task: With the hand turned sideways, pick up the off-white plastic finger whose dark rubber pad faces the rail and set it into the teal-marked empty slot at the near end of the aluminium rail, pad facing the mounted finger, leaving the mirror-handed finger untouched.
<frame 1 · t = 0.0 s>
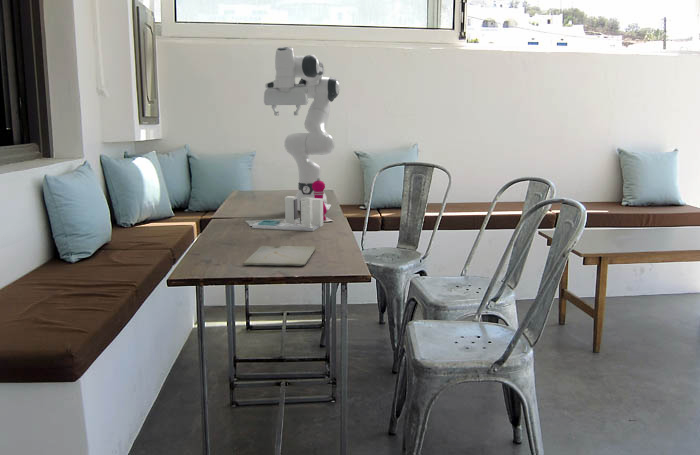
hand: (286, 115, 282), 48 cm above the table, tool pointing down, fingers open, 8 cm apart
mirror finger: (317, 225, 275), on the table
decorative slab: (281, 259, 217), on the table
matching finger: (291, 223, 283), on the table
pepper mill: (319, 220, 290), on the table
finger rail: (285, 227, 271), on the table
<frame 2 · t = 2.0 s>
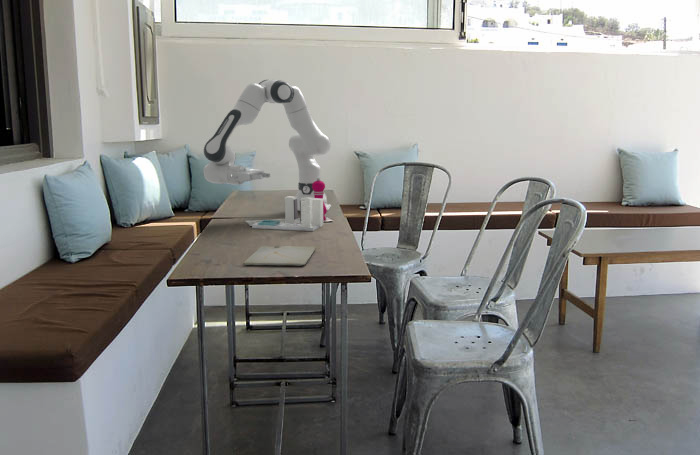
hand: (265, 176, 282), 21 cm above the table, tool horizontal, fingers open, 8 cm apart
nothing on the table moved.
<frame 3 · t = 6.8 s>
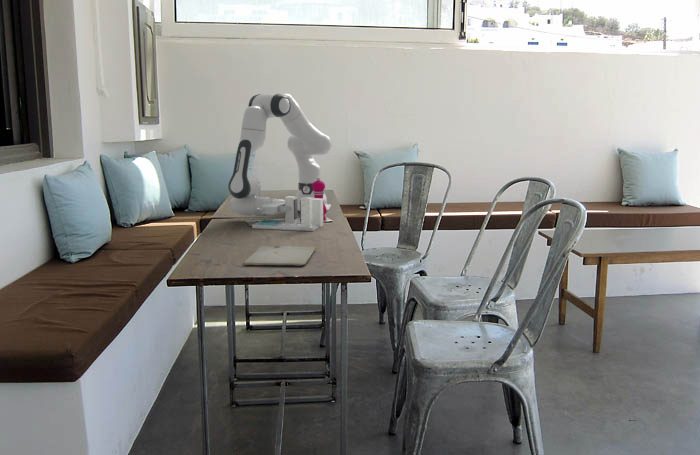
hand: (292, 207, 281), 7 cm above the table, tool horizontal, fingers closed on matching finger, 4 cm apart
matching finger: (291, 223, 283), on the table, touching gripper
everything else where it was.
when the fingers open (9 cm above the table, at t = 12.7 s): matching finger stays where it is, resting on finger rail.
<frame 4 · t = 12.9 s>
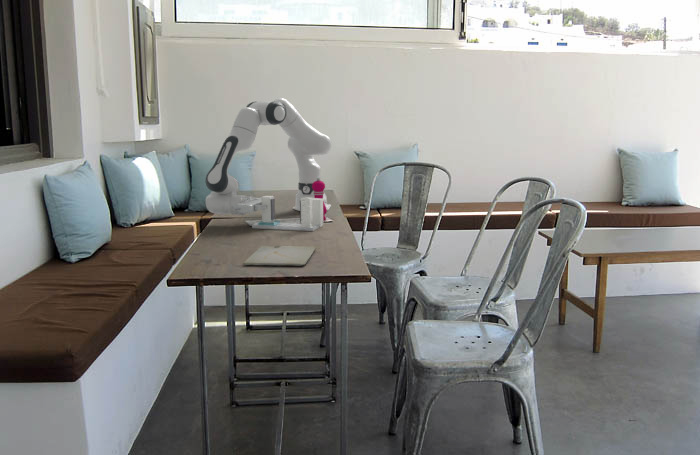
hand: (269, 206, 271), 9 cm above the table, tool horizontal, fingers open, 6 cm apart
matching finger: (268, 223, 273), point 1 cm above the table, touching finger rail
everything else where it was.
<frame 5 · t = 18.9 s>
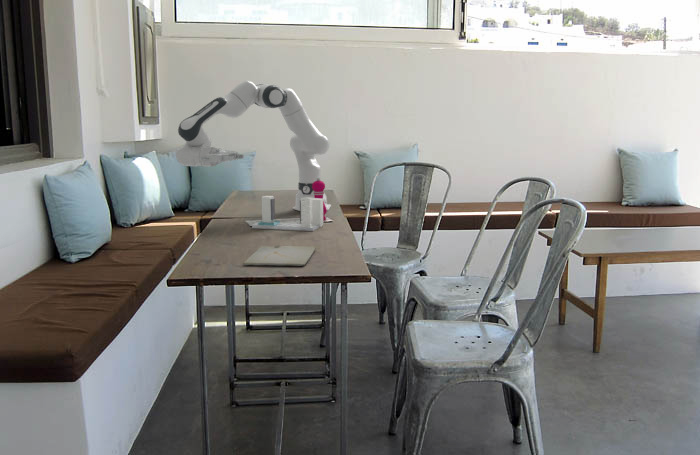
hand: (238, 157, 275), 30 cm above the table, tool horizontal, fingers open, 8 cm apart
nothing on the table moved.
at the end: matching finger 0.0 cm from the target spot, point 1.5 cm above the table; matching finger tilted 0°; the gripper is holding nothing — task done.
